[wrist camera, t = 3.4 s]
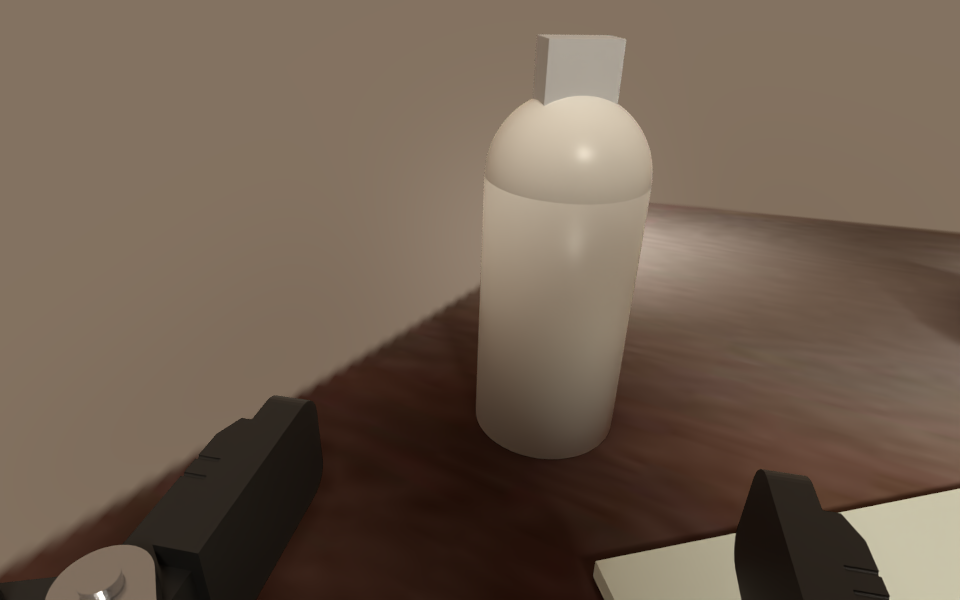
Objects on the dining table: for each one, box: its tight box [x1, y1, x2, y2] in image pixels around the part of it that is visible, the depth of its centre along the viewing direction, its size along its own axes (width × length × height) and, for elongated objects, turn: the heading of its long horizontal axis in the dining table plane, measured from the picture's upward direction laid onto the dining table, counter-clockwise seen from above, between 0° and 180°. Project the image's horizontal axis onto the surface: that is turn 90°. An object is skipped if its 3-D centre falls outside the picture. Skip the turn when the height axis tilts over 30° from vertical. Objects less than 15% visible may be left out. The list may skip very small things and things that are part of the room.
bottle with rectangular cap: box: [476, 35, 653, 459], centre depth 20 cm, size 5×5×13 cm
